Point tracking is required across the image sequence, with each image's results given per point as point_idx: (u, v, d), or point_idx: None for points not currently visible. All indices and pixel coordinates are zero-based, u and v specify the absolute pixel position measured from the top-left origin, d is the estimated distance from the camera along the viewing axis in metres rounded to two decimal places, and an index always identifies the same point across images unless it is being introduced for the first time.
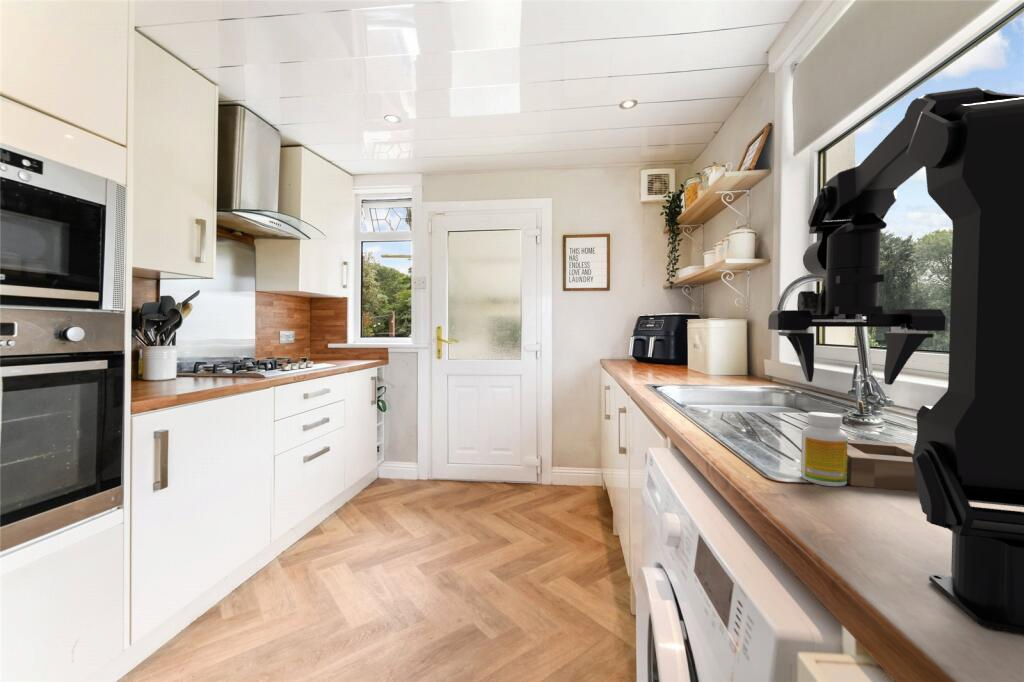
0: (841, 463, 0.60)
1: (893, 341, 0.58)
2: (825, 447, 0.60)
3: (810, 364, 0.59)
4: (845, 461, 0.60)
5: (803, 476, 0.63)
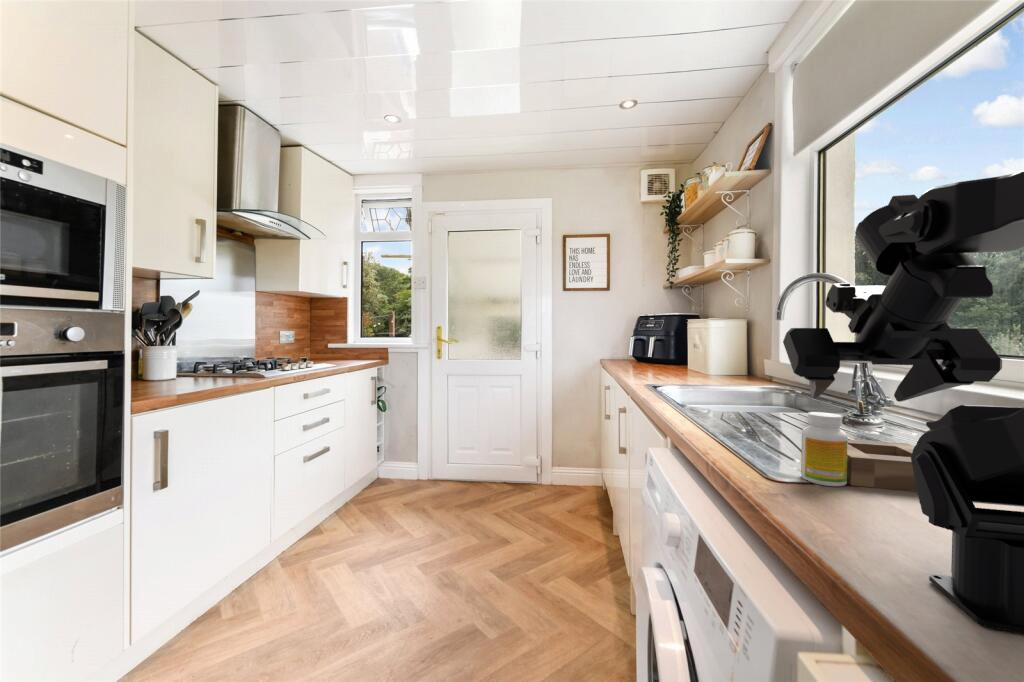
0: (841, 463, 0.60)
1: (924, 367, 0.49)
2: (825, 447, 0.60)
3: (819, 392, 0.53)
4: (845, 461, 0.60)
5: (803, 476, 0.63)
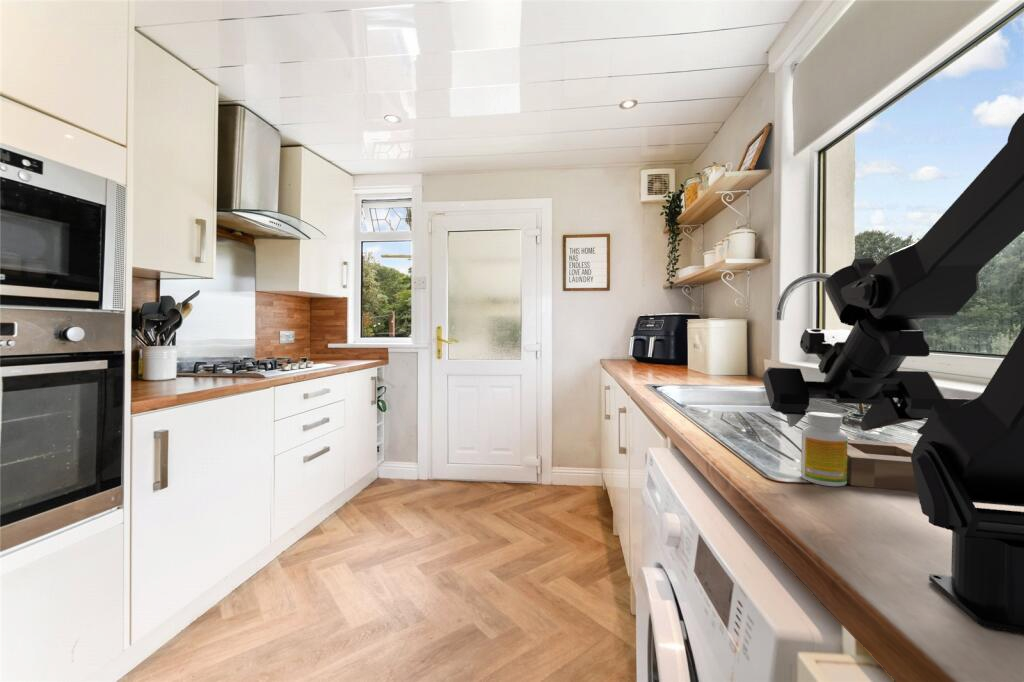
0: (841, 463, 0.60)
1: (883, 403, 0.57)
2: (825, 447, 0.60)
3: (794, 422, 0.60)
4: (845, 461, 0.60)
5: (803, 476, 0.63)
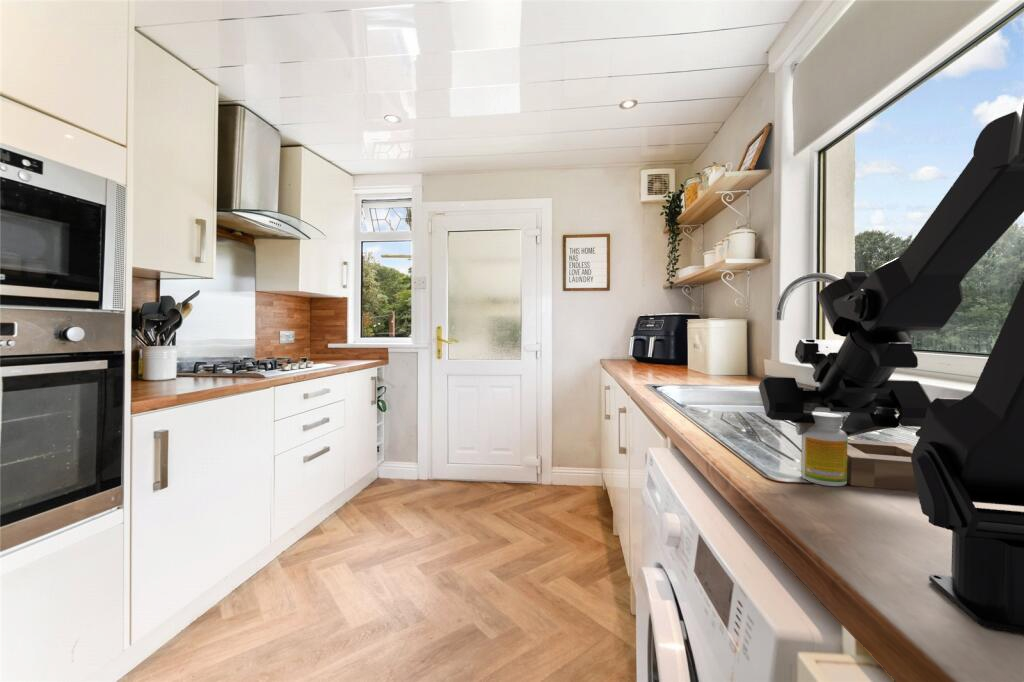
0: (841, 463, 0.60)
1: None
2: (825, 447, 0.60)
3: (803, 431, 0.61)
4: (845, 461, 0.60)
5: (803, 476, 0.63)
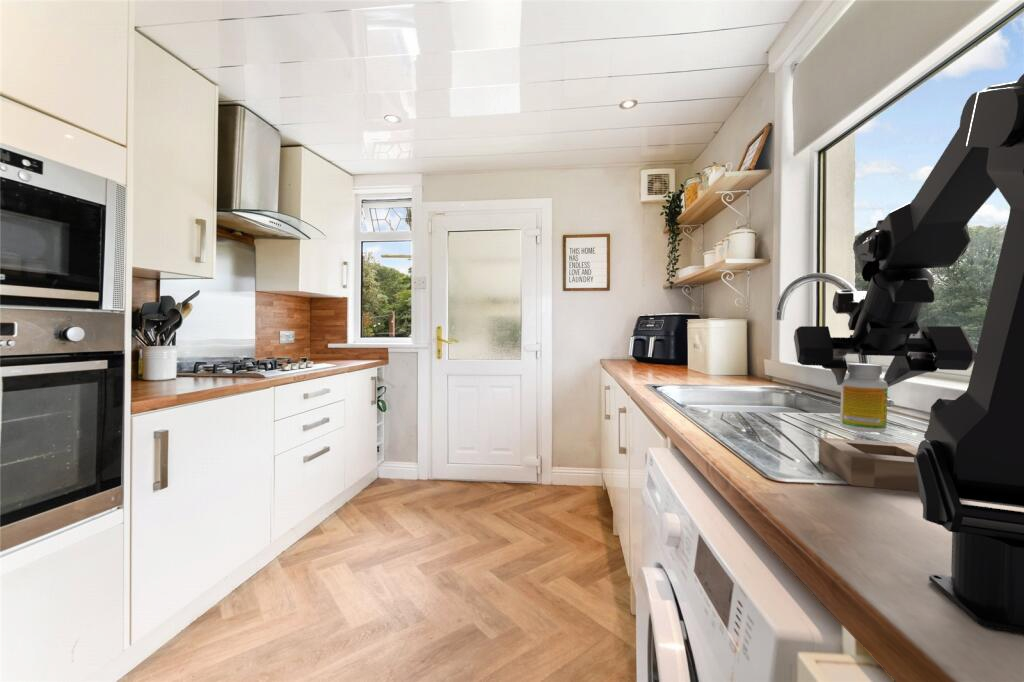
0: (879, 410, 0.61)
1: (900, 358, 0.60)
2: (861, 394, 0.62)
3: (840, 379, 0.64)
4: (883, 408, 0.61)
5: (841, 424, 0.65)
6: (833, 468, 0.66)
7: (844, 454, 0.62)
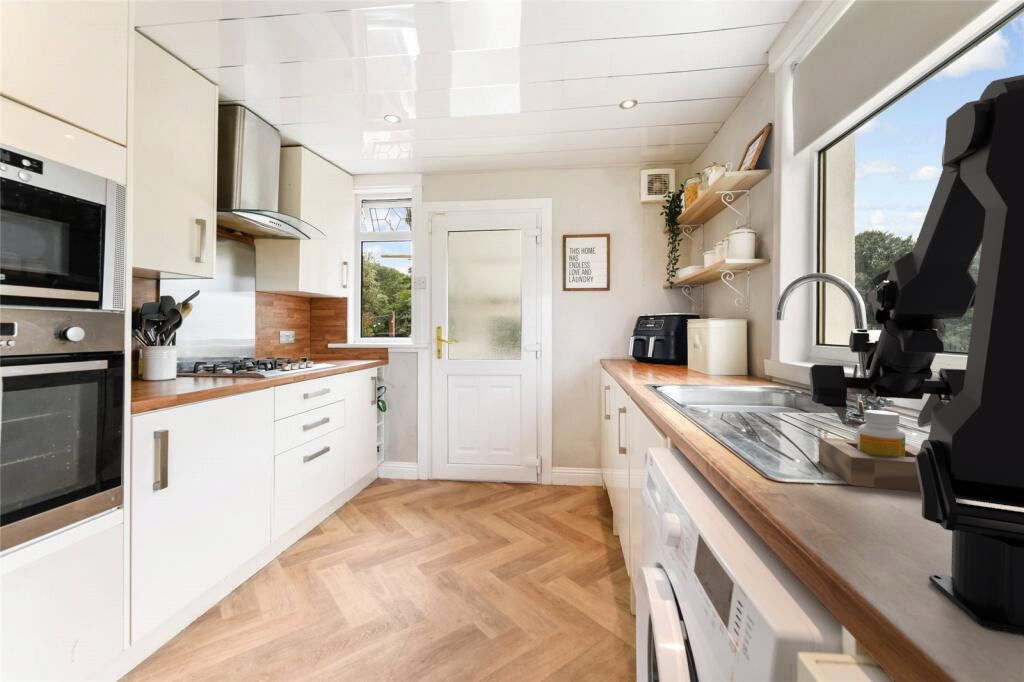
0: None
1: (934, 400, 0.59)
2: (878, 443, 0.62)
3: (842, 416, 0.65)
4: None
5: None
6: (833, 468, 0.66)
7: (844, 454, 0.62)
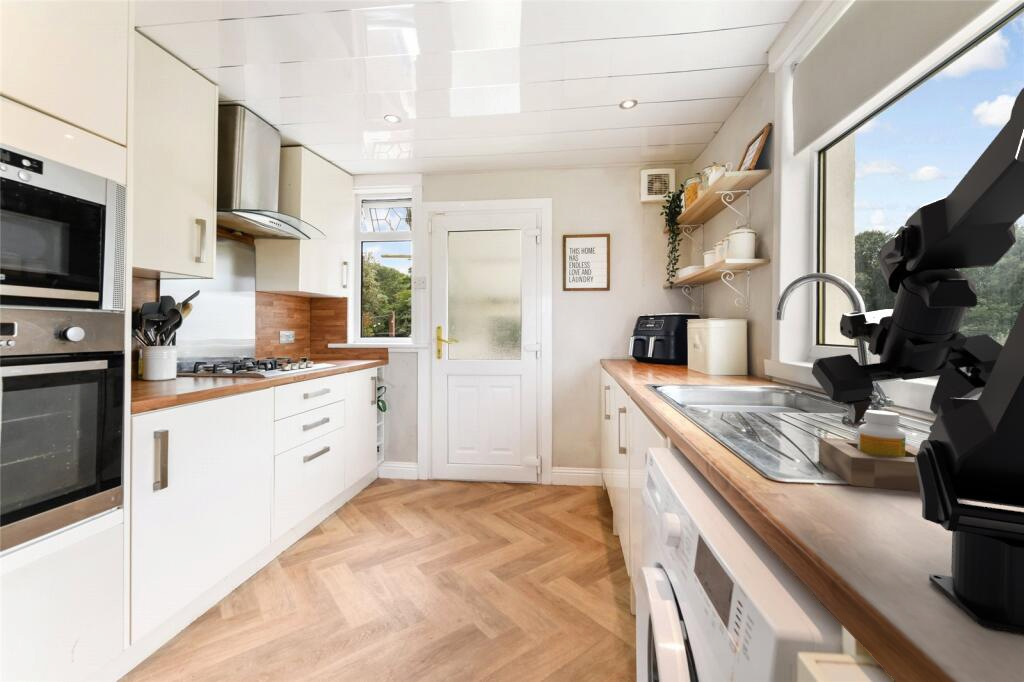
0: None
1: (950, 377, 0.52)
2: (878, 443, 0.62)
3: (859, 415, 0.55)
4: None
5: None
6: (833, 468, 0.66)
7: (844, 454, 0.62)
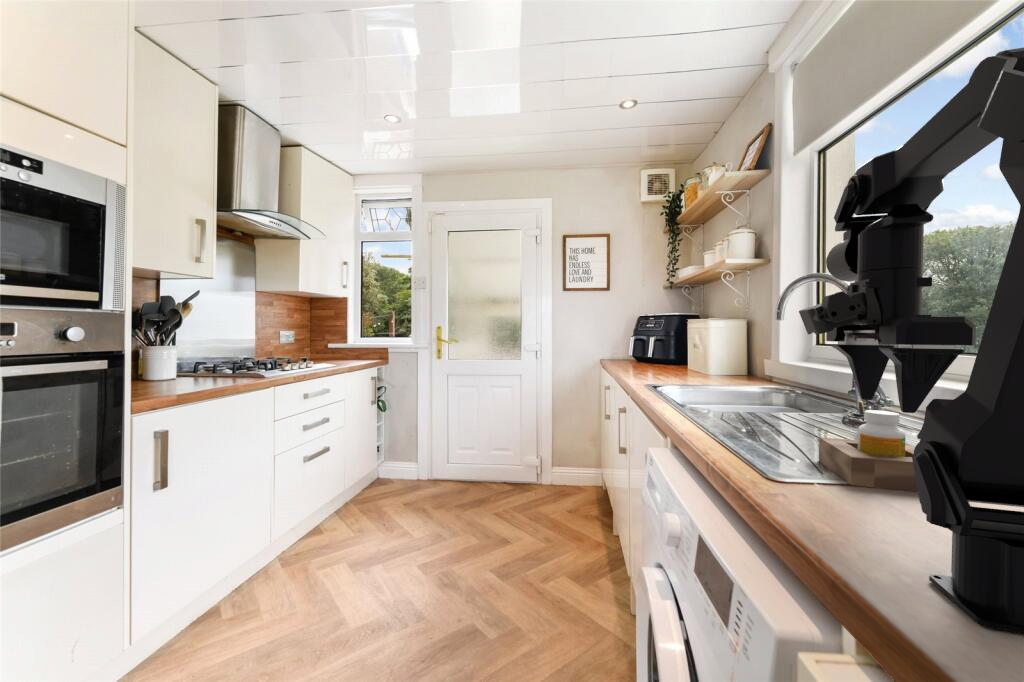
0: None
1: (865, 354, 0.55)
2: (878, 443, 0.62)
3: None
4: None
5: None
6: (833, 468, 0.66)
7: (844, 454, 0.62)
